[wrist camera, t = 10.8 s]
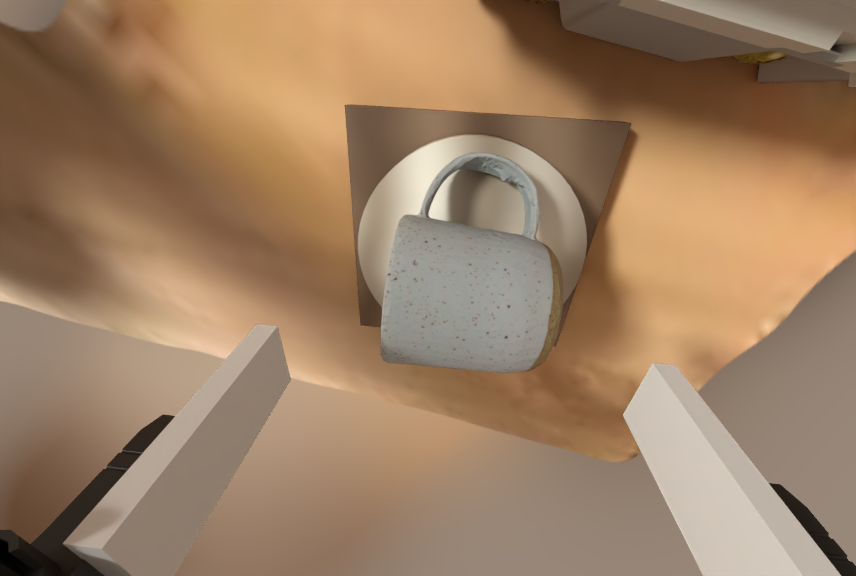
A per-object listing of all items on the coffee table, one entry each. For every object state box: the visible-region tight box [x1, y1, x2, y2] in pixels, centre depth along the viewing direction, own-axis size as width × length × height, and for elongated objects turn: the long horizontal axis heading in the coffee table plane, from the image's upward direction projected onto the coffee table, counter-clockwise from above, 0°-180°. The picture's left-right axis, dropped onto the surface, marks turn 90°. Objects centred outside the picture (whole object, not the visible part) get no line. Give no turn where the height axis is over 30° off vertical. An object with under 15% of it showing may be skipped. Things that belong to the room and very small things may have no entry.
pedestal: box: [345, 105, 631, 347], centre depth 22 cm, size 16×16×4 cm
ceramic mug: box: [381, 152, 564, 373], centre depth 16 cm, size 11×8×8 cm
